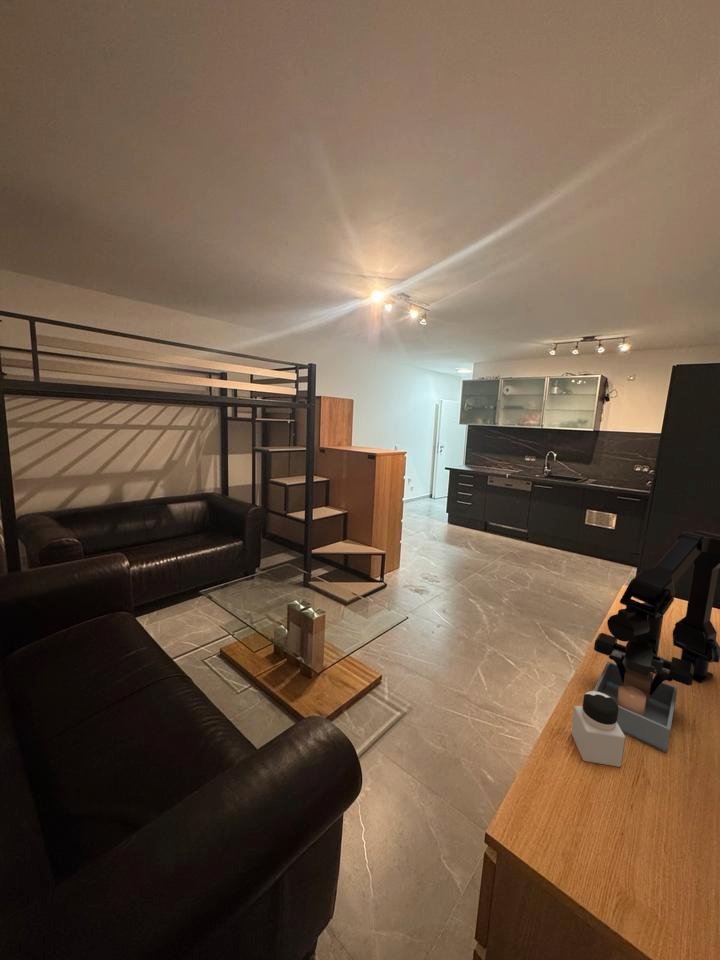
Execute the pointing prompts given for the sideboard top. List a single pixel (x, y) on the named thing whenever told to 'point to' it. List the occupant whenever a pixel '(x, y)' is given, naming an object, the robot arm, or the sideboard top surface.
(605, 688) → the tote
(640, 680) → the walnut cube
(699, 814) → the sideboard top surface
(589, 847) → the sideboard top surface
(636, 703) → the terracotta cylinder
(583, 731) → the medicine bottle
